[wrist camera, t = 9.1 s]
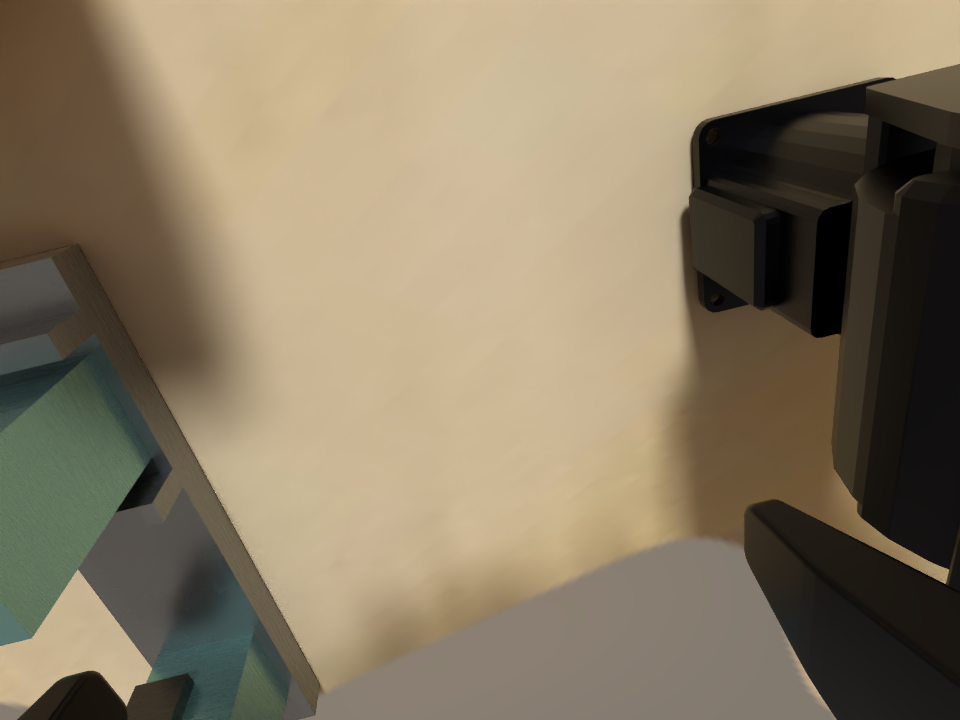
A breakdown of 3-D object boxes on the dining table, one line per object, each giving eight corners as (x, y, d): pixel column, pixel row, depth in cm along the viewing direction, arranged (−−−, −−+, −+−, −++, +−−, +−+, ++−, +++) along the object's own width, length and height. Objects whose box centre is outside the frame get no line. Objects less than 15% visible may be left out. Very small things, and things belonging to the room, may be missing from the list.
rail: (77, 244, 17) (-171, 371, 10) (319, 684, 27) (287, 914, 20) (-84, 282, 17) (-459, 440, 10) (217, 709, 27) (146, 951, 20)
